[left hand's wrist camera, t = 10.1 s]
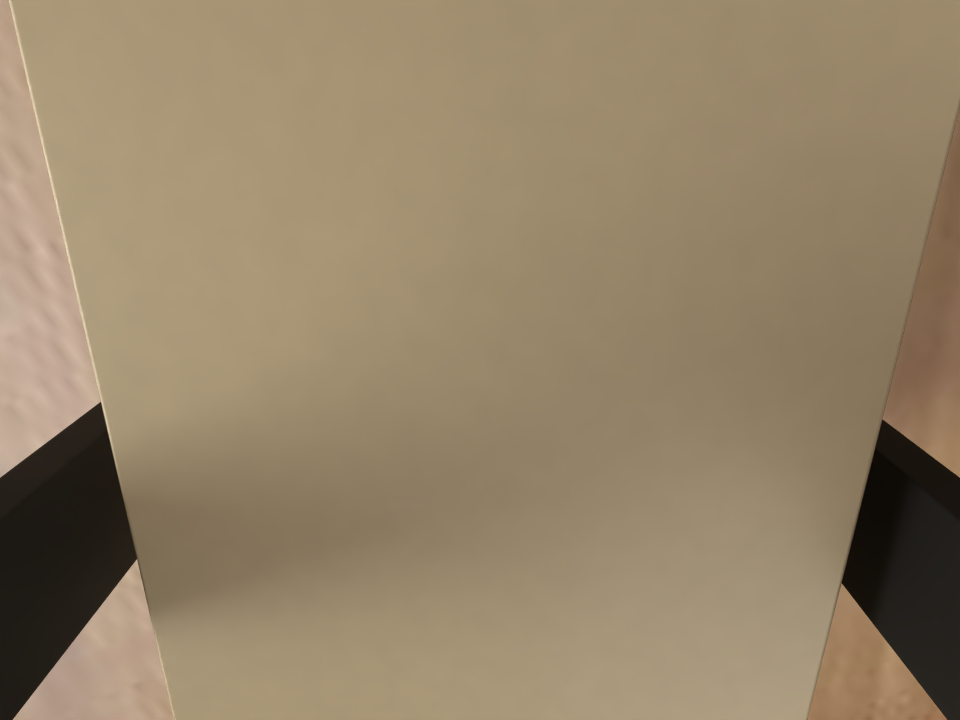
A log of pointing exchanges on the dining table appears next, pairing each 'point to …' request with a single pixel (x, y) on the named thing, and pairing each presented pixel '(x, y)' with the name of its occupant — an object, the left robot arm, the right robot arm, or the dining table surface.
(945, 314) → the dining table surface
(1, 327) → the dining table surface
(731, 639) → the cabinet
